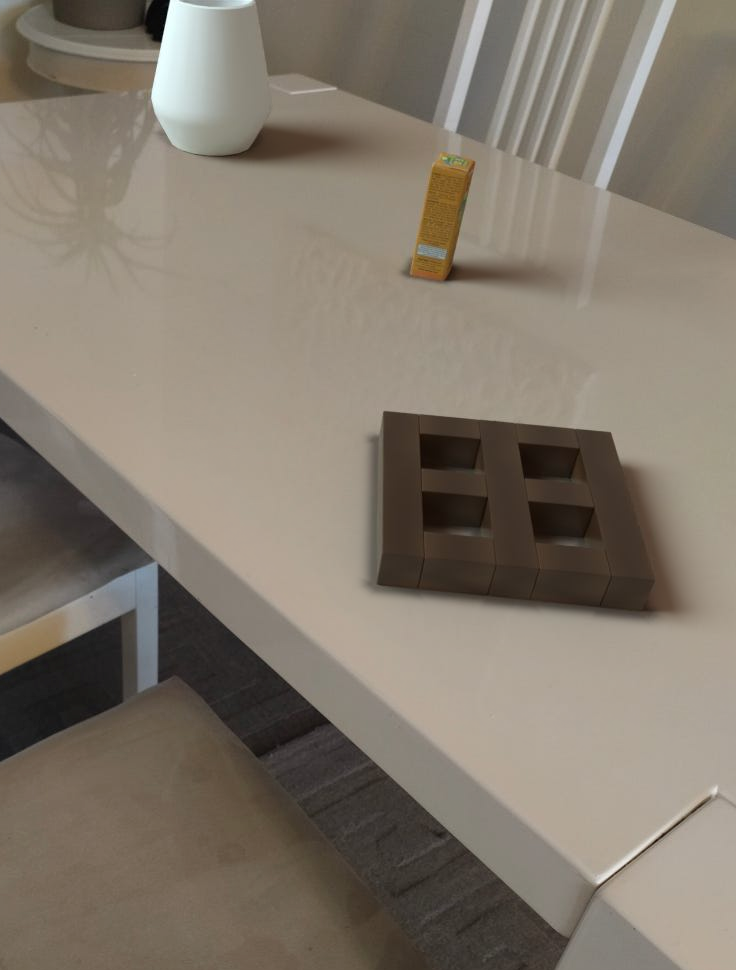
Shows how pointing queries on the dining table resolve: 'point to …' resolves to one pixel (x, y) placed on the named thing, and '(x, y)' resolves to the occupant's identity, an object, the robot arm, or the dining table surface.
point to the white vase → (212, 77)
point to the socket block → (507, 512)
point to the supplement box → (442, 216)
